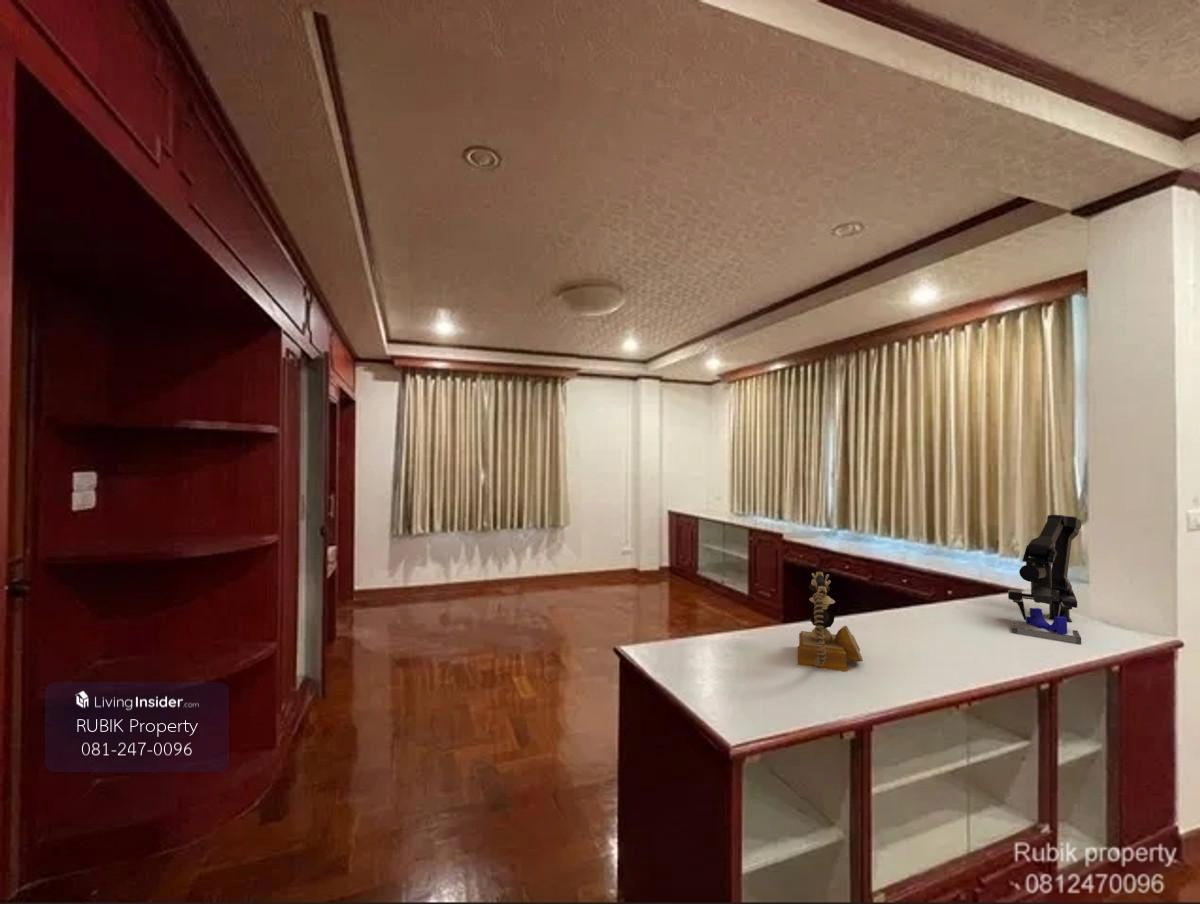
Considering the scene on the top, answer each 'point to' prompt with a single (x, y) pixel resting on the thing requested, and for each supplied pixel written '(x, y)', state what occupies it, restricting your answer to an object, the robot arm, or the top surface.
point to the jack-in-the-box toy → (825, 634)
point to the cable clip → (1039, 621)
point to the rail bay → (1048, 634)
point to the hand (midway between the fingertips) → (1041, 622)
